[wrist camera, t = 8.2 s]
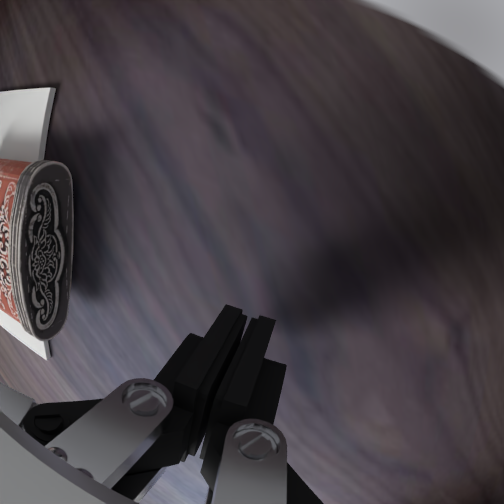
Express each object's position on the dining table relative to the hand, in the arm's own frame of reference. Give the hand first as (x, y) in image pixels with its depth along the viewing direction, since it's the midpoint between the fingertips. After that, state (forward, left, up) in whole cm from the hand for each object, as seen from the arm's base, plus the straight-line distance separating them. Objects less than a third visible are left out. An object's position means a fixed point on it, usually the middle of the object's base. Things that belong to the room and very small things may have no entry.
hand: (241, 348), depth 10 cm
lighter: (+9, 0, 0) cm, 9 cm away
